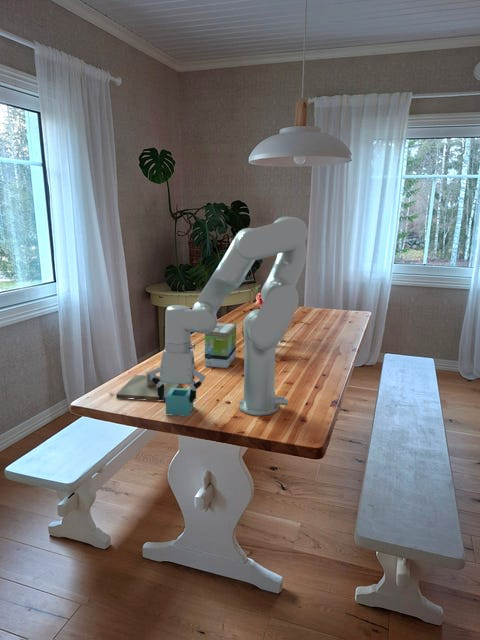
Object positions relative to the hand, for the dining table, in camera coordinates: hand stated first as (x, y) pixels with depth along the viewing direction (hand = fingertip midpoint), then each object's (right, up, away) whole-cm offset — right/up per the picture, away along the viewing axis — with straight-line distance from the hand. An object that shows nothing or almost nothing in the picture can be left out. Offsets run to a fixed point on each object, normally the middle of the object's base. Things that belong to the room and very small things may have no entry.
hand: (176, 399), depth 138 cm
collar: (+1, -4, +1) cm, 4 cm away
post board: (-11, 0, +17) cm, 20 cm away
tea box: (+12, +7, +47) cm, 49 cm away
